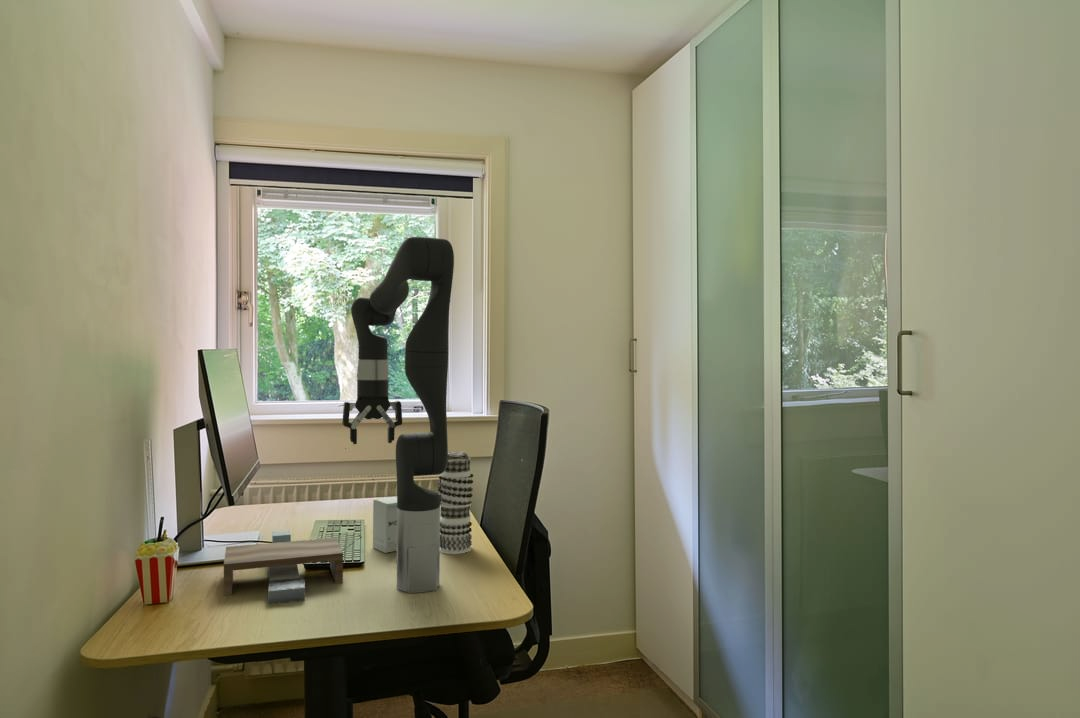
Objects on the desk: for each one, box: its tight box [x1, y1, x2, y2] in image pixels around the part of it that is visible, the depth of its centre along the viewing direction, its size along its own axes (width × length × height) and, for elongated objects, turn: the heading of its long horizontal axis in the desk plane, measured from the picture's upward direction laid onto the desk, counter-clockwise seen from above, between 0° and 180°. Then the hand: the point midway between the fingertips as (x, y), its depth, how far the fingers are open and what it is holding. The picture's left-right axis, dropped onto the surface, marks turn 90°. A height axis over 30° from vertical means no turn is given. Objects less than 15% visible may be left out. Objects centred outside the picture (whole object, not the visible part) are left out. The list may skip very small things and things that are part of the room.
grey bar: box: [267, 530, 301, 582], centre depth 163 cm, size 24×6×7 cm, turn 22°
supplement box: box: [372, 496, 397, 554], centre depth 185 cm, size 7×7×13 cm
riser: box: [223, 537, 344, 596], centre depth 160 cm, size 14×24×6 cm, turn 112°
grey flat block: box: [267, 576, 306, 605], centre depth 148 cm, size 7×7×3 cm
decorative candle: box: [437, 451, 474, 555], centre depth 184 cm, size 9×9×25 cm
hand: (372, 443), depth 177 cm, fingers open, 8 cm apart
